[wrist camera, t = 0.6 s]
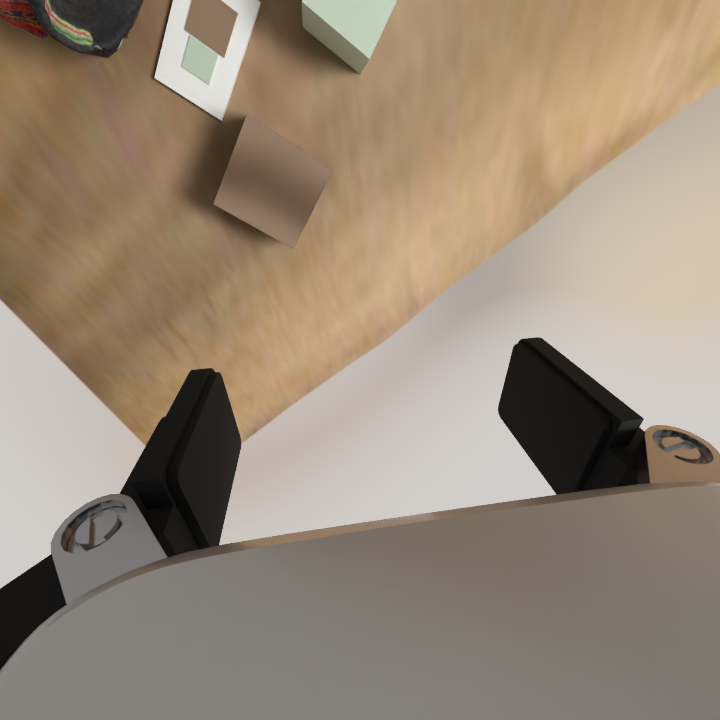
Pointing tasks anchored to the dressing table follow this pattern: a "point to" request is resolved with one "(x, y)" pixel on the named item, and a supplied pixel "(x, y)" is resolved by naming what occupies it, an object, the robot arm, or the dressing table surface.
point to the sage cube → (347, 26)
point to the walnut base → (271, 183)
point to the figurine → (76, 21)
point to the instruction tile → (206, 49)
